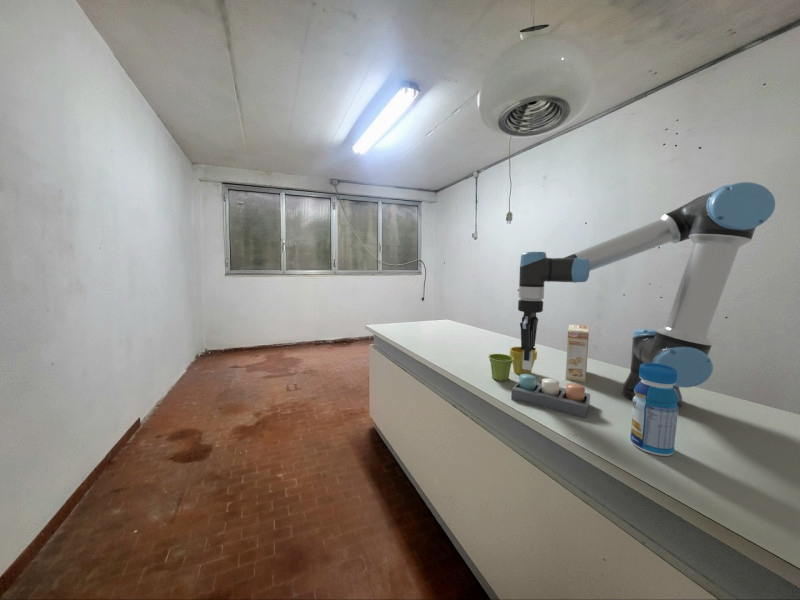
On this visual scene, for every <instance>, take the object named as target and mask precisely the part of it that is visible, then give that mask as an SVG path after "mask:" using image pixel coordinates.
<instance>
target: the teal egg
mask: <svg viewBox="0 0 800 600" xmlns="http://www.w3.org/2000/svg"><path fill="white" fill-rule="evenodd" d="M536 379H537V377H536V376H535V375H533V374H521V375H519V381H520V384H519V388H522V389H526V390H531V391H535V387H536V381H537V380H536Z"/></svg>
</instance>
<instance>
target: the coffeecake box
mask: <svg viewBox="0 0 800 600" xmlns="http://www.w3.org/2000/svg"><path fill="white" fill-rule="evenodd" d="M589 332H590V331H589V325H582V324H572V323H570V324H569V326H568V329H567V343H566V344H567V345H566V346H567V347H566V364H565V377H564V378H565V380H571V381H576V382H581V383H586V381H587V366H588V350H589V335H590V334H589Z"/></svg>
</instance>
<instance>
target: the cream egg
mask: <svg viewBox="0 0 800 600" xmlns="http://www.w3.org/2000/svg"><path fill="white" fill-rule="evenodd" d="M541 383H542V391H541V393H544V394H548V395H552V396H557V397H558V396H559V387H560V382H559V380H556V379H554V378H542V379H541Z"/></svg>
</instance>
